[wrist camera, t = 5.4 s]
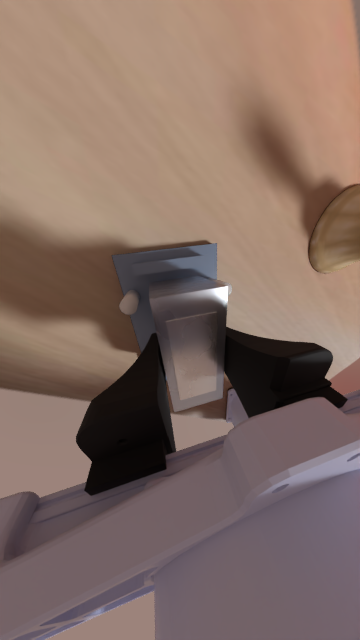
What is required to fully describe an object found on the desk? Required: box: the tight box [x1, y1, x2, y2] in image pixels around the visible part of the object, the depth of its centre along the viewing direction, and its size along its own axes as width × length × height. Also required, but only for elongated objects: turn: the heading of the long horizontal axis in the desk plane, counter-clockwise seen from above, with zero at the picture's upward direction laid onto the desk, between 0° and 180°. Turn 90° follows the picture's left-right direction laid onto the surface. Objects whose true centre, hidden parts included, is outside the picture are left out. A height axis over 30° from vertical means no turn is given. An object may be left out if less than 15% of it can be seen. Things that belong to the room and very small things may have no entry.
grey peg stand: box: [112, 243, 232, 380], centre depth 13 cm, size 14×9×4 cm, turn 6°
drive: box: [149, 276, 228, 412], centre depth 11 cm, size 9×4×5 cm, turn 6°
